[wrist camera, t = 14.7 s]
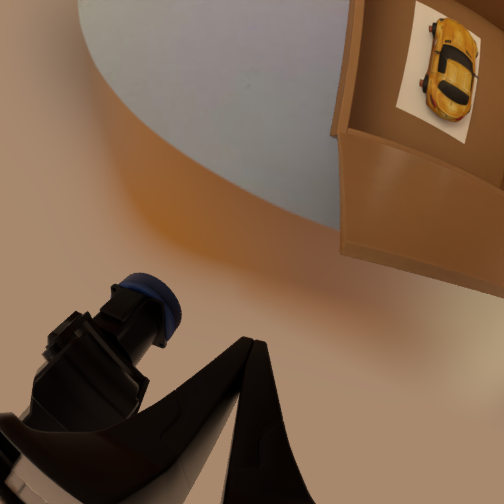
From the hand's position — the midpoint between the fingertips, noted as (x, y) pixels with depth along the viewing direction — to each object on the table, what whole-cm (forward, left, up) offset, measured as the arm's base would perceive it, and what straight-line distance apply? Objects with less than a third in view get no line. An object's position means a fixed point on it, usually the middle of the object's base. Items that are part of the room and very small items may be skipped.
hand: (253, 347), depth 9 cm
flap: (+6, -9, -2) cm, 11 cm away
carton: (+15, -9, -12) cm, 21 cm away
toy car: (+15, -9, -12) cm, 21 cm away
